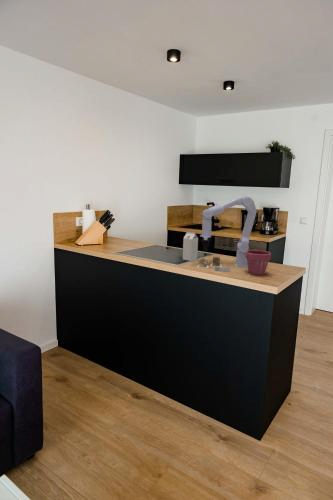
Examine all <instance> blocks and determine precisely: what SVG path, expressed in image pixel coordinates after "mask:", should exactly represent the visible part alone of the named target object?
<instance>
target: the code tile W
mask: <svg viewBox="0 0 333 500" xmlns="http://www.w3.org/2000/svg"><path fill="white" fill-rule="evenodd" d="M212 265H213V263H210V267H214V268H215V267H221V268H223V266H222V265H223V263H220V266H212Z"/></svg>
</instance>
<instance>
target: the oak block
mask: <svg viewBox="0 0 333 500" xmlns="http://www.w3.org/2000/svg"><path fill="white" fill-rule="evenodd" d="M198 260H199V263H198V265H199V267H198V268H200V267H207V265H208V257H199V259H198Z"/></svg>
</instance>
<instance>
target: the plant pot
mask: <svg viewBox="0 0 333 500" xmlns="http://www.w3.org/2000/svg"><path fill="white" fill-rule="evenodd" d="M245 257H246V258H247V264H248V267H247V269H248V270H247V271H248V273H249V274H250V275H253V276H264V275H265V274H266V271H267V267H268V264H269V261H270V260H271V257H272V253H271V252H270V251H266V250H260V249H259V250H258V249H249V250H248V251H246V255H245Z"/></svg>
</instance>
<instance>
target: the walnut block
mask: <svg viewBox="0 0 333 500" xmlns="http://www.w3.org/2000/svg"><path fill="white" fill-rule="evenodd" d="M212 264H213V265H212V266H211V267H214V266H220V264H221V257H220V256H212Z"/></svg>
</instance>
